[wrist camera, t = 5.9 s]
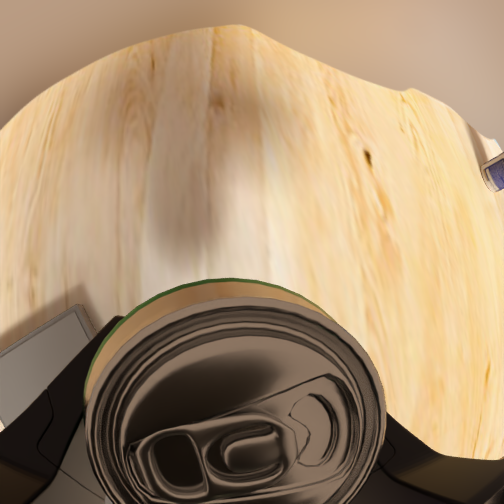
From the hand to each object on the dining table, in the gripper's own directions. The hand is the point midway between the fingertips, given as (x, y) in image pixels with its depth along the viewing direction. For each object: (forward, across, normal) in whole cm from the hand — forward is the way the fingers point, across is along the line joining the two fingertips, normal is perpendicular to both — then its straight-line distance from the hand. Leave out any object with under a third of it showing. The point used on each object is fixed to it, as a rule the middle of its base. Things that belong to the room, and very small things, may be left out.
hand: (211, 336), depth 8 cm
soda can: (+4, 0, +6) cm, 7 cm away
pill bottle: (+26, -44, -8) cm, 52 cm away
